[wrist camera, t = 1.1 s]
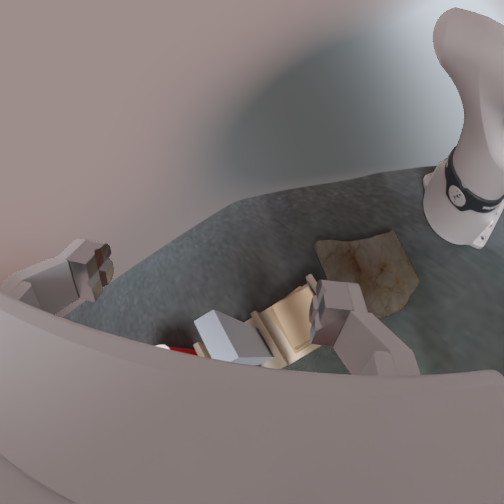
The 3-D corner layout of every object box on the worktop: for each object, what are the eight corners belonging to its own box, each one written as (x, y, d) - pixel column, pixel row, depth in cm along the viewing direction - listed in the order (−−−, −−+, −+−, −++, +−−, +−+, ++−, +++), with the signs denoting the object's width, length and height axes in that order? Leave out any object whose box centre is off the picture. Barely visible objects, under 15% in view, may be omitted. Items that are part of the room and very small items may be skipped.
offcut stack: (306, 288, 47) (304, 279, 41) (333, 330, 43) (334, 326, 38) (269, 311, 47) (262, 305, 42) (294, 354, 43) (290, 354, 38)
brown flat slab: (312, 247, 51) (311, 238, 47) (383, 220, 49) (387, 209, 45) (345, 335, 44) (347, 333, 40) (421, 302, 42) (428, 296, 39)
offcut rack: (312, 282, 48) (310, 273, 43) (344, 330, 44) (346, 327, 39) (206, 346, 49) (192, 344, 44) (231, 395, 45) (220, 399, 40)
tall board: (258, 328, 46) (213, 309, 28) (275, 356, 44) (238, 357, 26) (246, 336, 46) (193, 321, 28) (262, 364, 44) (217, 368, 26)
